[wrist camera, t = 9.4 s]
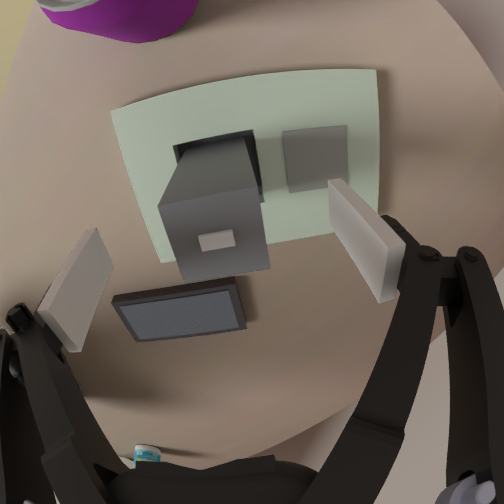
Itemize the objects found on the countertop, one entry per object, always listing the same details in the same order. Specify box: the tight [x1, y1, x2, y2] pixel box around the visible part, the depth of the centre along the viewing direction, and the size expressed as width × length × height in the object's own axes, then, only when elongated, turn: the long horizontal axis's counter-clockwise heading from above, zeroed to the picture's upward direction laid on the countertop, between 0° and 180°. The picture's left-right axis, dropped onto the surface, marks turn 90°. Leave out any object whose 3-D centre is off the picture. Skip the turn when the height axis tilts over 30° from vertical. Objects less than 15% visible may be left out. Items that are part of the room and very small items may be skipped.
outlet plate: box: [110, 69, 380, 263], centre depth 22 cm, size 20×14×2 cm
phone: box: [111, 276, 247, 342], centre depth 31 cm, size 14×7×1 cm, turn 99°
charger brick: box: [157, 136, 270, 283], centre depth 18 cm, size 4×4×11 cm
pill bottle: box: [133, 445, 161, 468], centre depth 57 cm, size 8×7×14 cm
